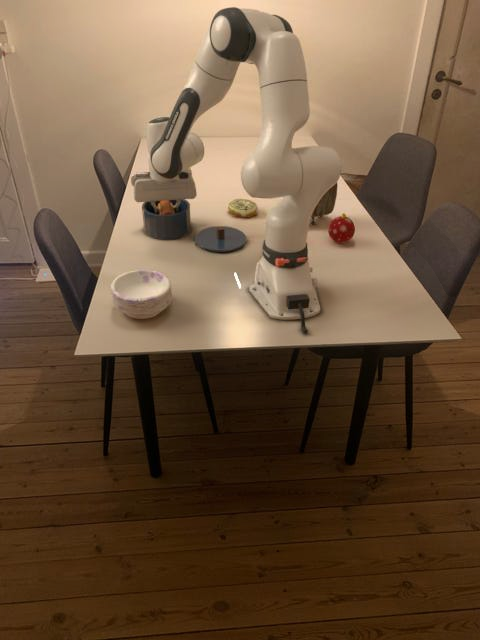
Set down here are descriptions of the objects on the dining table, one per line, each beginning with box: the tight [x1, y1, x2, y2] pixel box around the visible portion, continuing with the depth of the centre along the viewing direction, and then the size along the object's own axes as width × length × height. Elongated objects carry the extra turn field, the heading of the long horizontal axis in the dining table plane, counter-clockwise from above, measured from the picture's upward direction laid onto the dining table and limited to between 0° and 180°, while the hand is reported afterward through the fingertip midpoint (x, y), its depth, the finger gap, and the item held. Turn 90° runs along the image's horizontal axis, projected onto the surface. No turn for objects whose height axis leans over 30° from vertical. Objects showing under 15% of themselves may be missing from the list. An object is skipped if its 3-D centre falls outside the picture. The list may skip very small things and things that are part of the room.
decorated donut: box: [227, 198, 259, 218], centre depth 176 cm, size 10×11×4 cm
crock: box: [141, 199, 192, 241], centre depth 163 cm, size 16×16×8 cm
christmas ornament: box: [327, 212, 356, 244], centre depth 158 cm, size 9×9×10 cm
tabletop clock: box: [310, 182, 338, 226], centre depth 164 cm, size 14×9×25 cm, turn 108°
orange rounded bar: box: [158, 200, 175, 215], centre depth 162 cm, size 11×5×4 cm, turn 12°
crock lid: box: [194, 225, 247, 253], centre depth 158 cm, size 17×17×5 cm
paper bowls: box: [110, 269, 173, 320], centre depth 126 cm, size 15×15×8 cm
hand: (166, 211), depth 162 cm, fingers closed on orange rounded bar, 5 cm apart
